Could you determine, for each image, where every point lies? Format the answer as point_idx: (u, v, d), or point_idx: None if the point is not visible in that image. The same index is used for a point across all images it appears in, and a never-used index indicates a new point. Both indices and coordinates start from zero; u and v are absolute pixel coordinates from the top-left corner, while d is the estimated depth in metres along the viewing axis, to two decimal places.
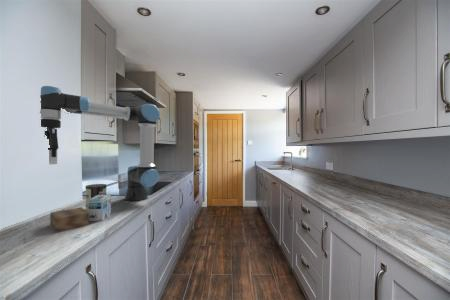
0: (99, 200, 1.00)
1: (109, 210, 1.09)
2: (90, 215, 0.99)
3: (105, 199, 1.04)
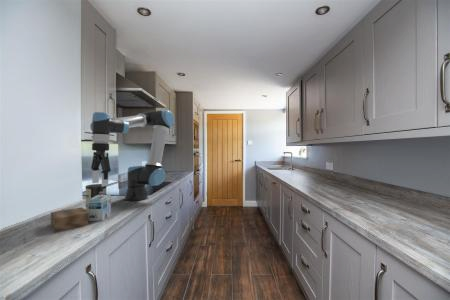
0: (99, 200, 1.00)
1: (109, 210, 1.09)
2: (90, 215, 0.99)
3: (105, 199, 1.04)
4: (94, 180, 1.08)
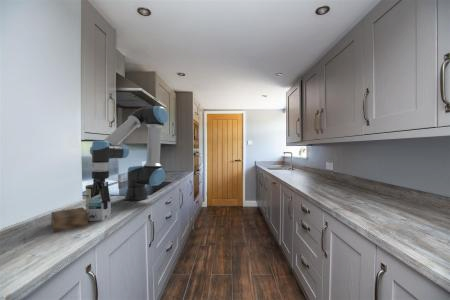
0: (99, 200, 1.00)
1: (109, 210, 1.08)
2: (90, 215, 0.99)
3: None
4: None
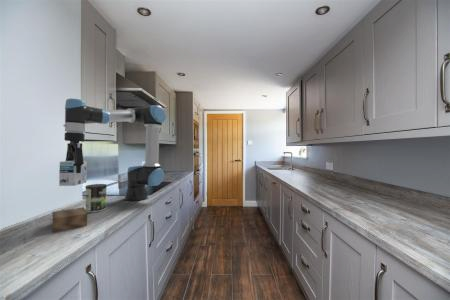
0: (71, 163, 0.91)
1: (84, 177, 0.99)
2: (61, 179, 0.90)
3: None
4: None
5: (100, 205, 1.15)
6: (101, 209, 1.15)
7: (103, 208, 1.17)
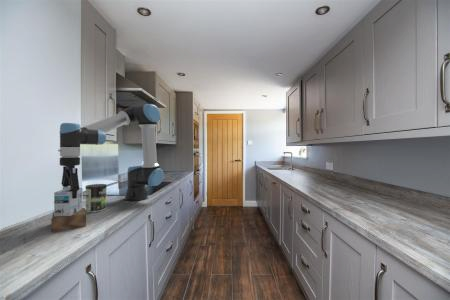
0: (66, 193, 0.90)
1: (80, 205, 0.98)
2: (56, 210, 0.89)
3: None
4: None
5: (100, 205, 1.15)
6: (101, 209, 1.15)
7: (103, 208, 1.17)
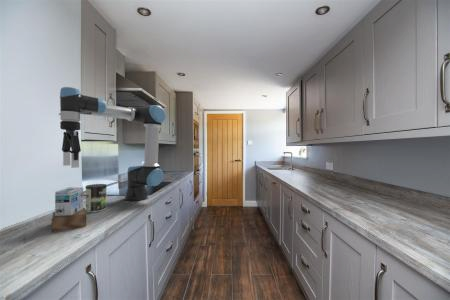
0: (67, 192, 0.90)
1: (81, 204, 0.98)
2: (57, 209, 0.89)
3: (75, 192, 0.93)
4: (65, 162, 1.00)
5: (100, 205, 1.15)
6: (101, 209, 1.15)
7: (103, 208, 1.17)
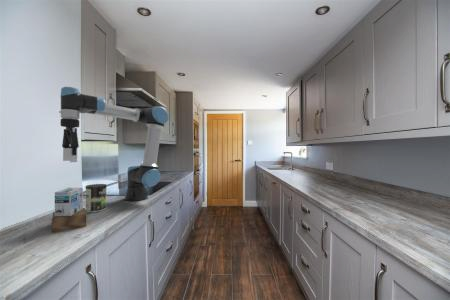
0: (67, 193, 0.90)
1: (80, 205, 0.98)
2: (56, 210, 0.89)
3: (74, 192, 0.93)
4: (65, 158, 1.06)
5: (100, 205, 1.15)
6: (101, 209, 1.15)
7: (103, 208, 1.17)
